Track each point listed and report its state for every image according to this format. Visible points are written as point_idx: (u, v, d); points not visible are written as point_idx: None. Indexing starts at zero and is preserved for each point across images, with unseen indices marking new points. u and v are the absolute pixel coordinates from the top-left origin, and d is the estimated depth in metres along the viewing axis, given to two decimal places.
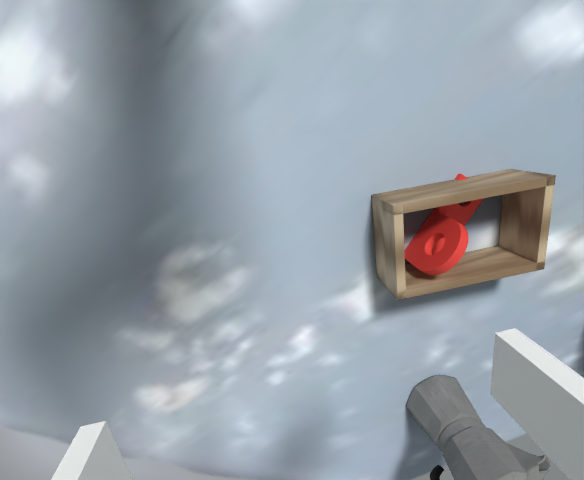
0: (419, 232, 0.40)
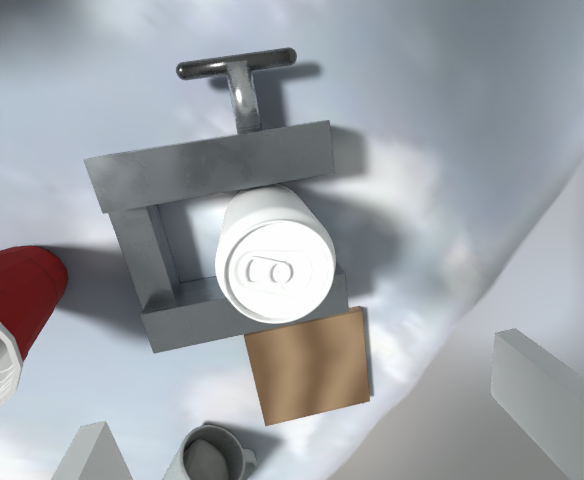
0: None
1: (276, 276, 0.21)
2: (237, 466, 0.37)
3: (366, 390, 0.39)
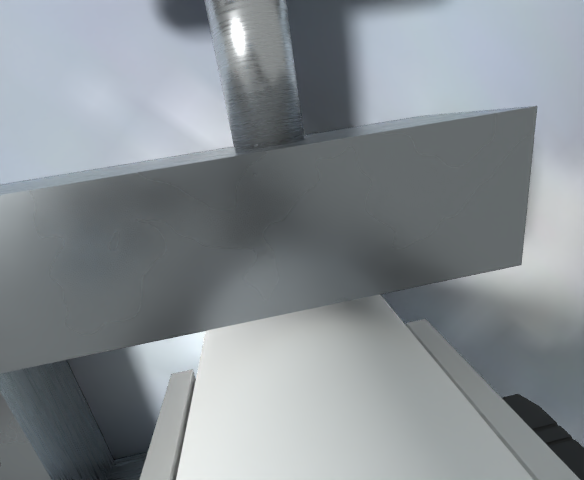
0: None
1: None
2: None
3: None
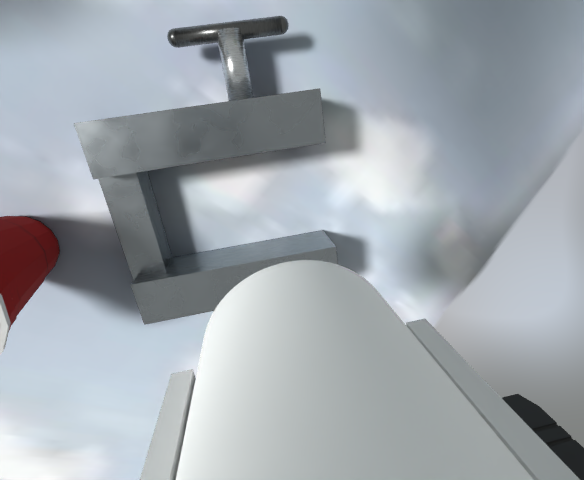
0: None
1: None
2: None
3: None
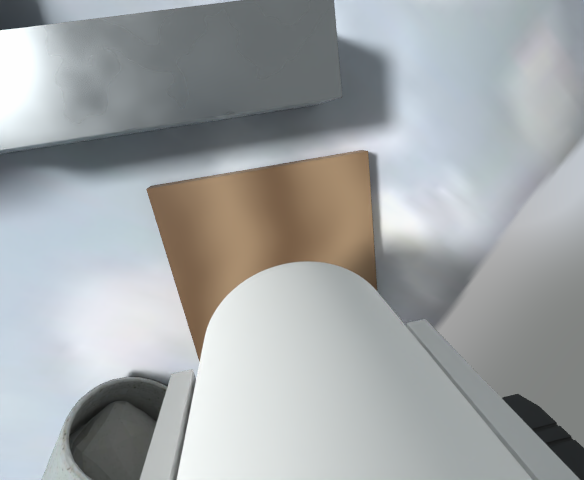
0: None
1: None
2: None
3: None
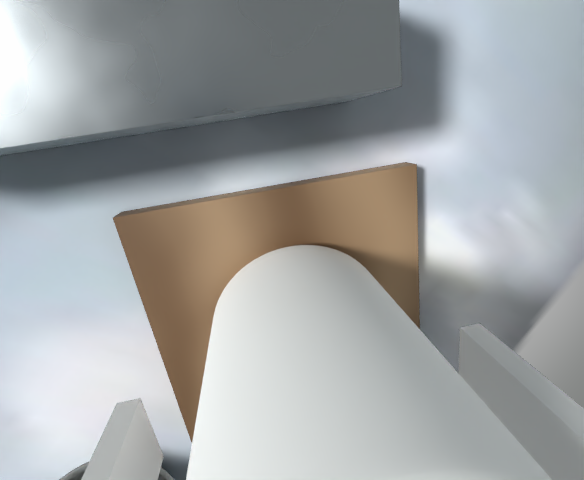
0: None
1: None
2: None
3: None
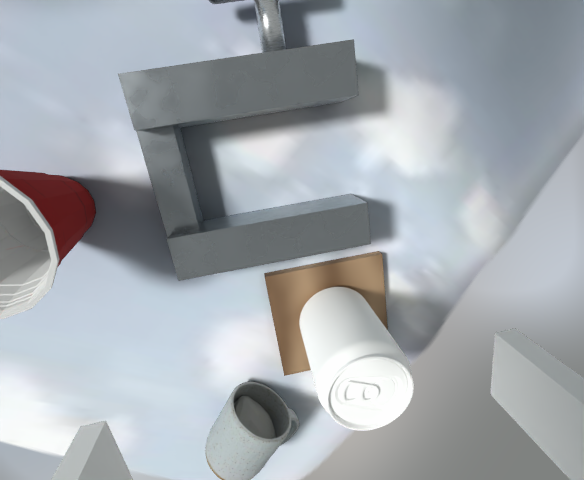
0: None
1: (366, 394, 0.26)
2: (282, 422, 0.38)
3: None
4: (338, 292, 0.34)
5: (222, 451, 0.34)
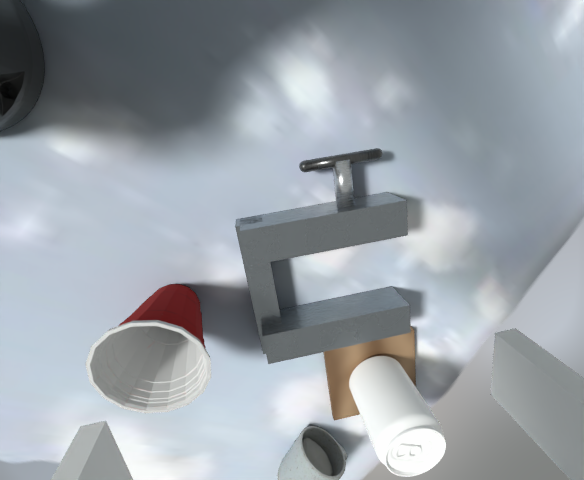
0: None
1: (412, 452, 0.36)
2: (336, 458, 0.48)
3: None
4: (381, 362, 0.44)
5: None
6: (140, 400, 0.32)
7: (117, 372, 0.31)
